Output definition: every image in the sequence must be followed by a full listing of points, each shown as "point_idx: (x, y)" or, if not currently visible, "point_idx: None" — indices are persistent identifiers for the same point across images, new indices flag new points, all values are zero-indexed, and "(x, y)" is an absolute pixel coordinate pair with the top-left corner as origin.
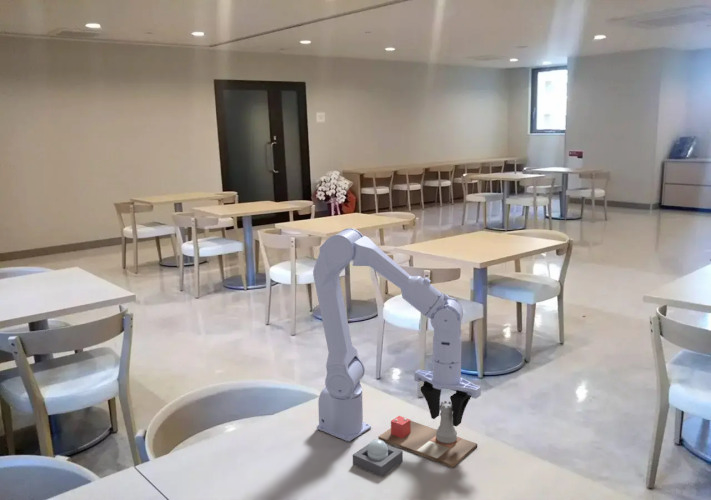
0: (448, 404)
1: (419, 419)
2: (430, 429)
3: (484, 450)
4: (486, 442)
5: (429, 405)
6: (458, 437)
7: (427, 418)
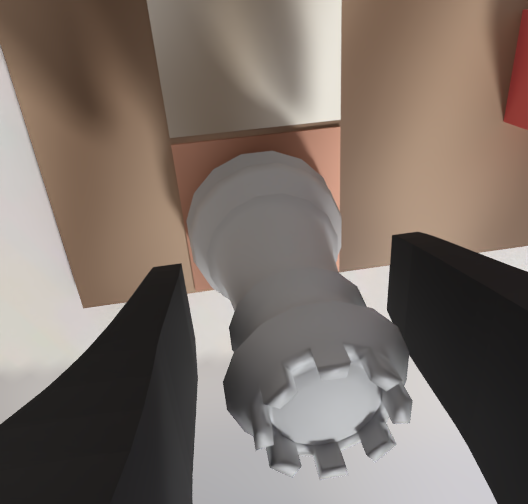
0: (319, 427)
1: None
2: None
3: (24, 293)
4: None
5: (518, 280)
6: None
7: None
